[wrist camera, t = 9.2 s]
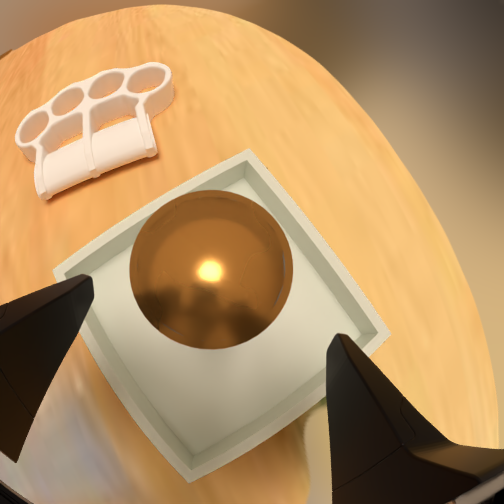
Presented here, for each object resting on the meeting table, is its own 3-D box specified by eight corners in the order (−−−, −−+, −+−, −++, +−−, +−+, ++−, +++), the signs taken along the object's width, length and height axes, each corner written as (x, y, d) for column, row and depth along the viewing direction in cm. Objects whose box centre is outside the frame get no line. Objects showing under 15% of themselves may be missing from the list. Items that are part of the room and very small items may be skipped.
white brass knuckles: (24, 219, 20) (32, 120, 23) (195, 150, 24) (164, 67, 27) (5, 204, 17) (22, 103, 20) (193, 126, 21) (162, 46, 24)
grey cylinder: (248, 341, 19) (300, 343, 6) (189, 343, 18) (128, 348, 6) (244, 284, 20) (284, 189, 7) (187, 286, 19) (135, 193, 7)
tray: (370, 335, 20) (391, 334, 17) (192, 465, 16) (188, 483, 13) (245, 169, 23) (249, 148, 20) (71, 279, 19) (52, 270, 16)
